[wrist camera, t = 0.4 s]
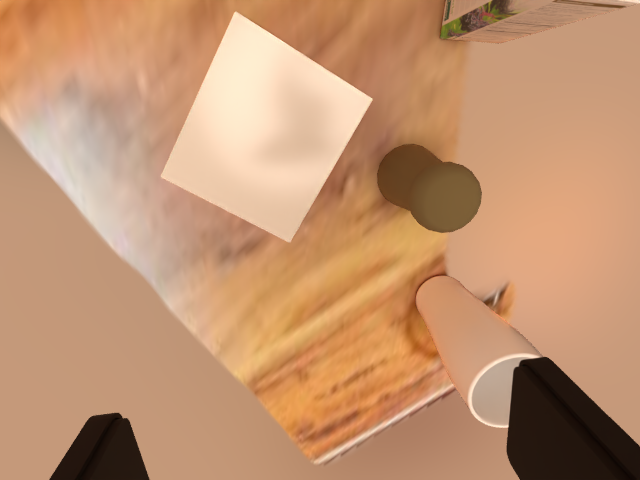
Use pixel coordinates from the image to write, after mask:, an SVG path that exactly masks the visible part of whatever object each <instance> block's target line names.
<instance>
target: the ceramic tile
mask: <svg viewBox="0 0 640 480" xmlns="http://www.w3.org/2000/svg"><path fill="white" fill-rule="evenodd" d="M372 100H373V99H372V98H370V97H369V96H367V95H366V94H364V93H363V92H361V91H360V90H358V89H356V88H355V87H353V86H352V85H350V84H349V83H347V82H345V81H344V80H342V79H341V78H339V77H338V76H336V75H335V74H333V73H331V72H330V71H328V70H327V69H325V68H324V67H322V66H320V65H319V64H317V63H316V62H314V61H313V60H311V59H309V58H308V57H306V56H305V55H303V54H302V53H300V52H299V51H297V50H295V49H294V48H292V47H291V46H289V45H288V44H286V43H284V42H283V41H281V40H280V39H278V38H277V37H275V36H274V35H272V34H270V33H269V32H267V31H266V30H264V29H263V28H261V27H259V26H258V25H256V24H255V23H253V22H252V21H250V20H249V19H247V18H245V17H244V16H242V15H241V14H239V13H238V12H236V11H235V13H234V15H233V17H232V19H231V22H230V24H229V26H228V28H227V30H226V33H225V35H224V37H223V39H222V42H221V44H220V46H219V48H218V50H217V53H216V55H215V57H214V59H213V62H212V64H211V66H210V68H209V70H208V73H207V75H206V77H205V79H204V81H203V84H202V86H201V88H200V90H199V93H198V95H197V97H196V99H195V101H194V104H193V106H192V108H191V110H190V112H189V115H188V117H187V119H186V121H185V124H184V126H183V128H182V130H181V132H180V135H179V137H178V139H177V141H176V144H175V146H174V148H173V150H172V152H171V155H170V157H169V159H168V161H167V163H166V166H165V168H164V170H163V172H162V175H161V178H163V179H165V180H167V181H169V182H171V183H173V184H175V185H177V186H179V187H181V188H183V189H185V190H187V191H189V192H191V193H193V194H195V195H197V196H198V197H200V198H202V199H204V200H206V201H208V202H210V203H212V204H214V205H216V206H218V207H220V208H222V209H224V210H226V211H228V212H230V213H232V214H234V215H236V216H238V217H240V218H242V219H244V220H246V221H248V222H250V223H252V224H253V225H255V226H257V227H259V228H261V229H263V230H265V231H267V232H269V233H271V234H273V235H275V236H277V237H279V238H281V239H283V240H285V241H287V242H289V243H290V242H291V240H292V238H293V237H294V235H295V233H296V231H297V230H298V228H299V226H300V224H301V223H302V221H303V219H304V218H305V216H306V214H307V212H308V211H309V209H310V207H311V205H312V204H313V202H314V200H315V199H316V197H317V195H318V193H319V192H320V190H321V188H322V186H323V185H324V183H325V181H326V180H327V178H328V176H329V174H330V173H331V171H332V169H333V167H334V166H335V164H336V162H337V160H338V159H339V157H340V155H341V154H342V152H343V150H344V148H345V147H346V145H347V143H348V141H349V140H350V138H351V136H352V135H353V133H354V131H355V129H356V128H357V126H358V124H359V122H360V121H361V119H362V117H363V116H364V114H365V112H366V110H367V109H368V107H369V105H370V103H371V102H372Z"/></svg>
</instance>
